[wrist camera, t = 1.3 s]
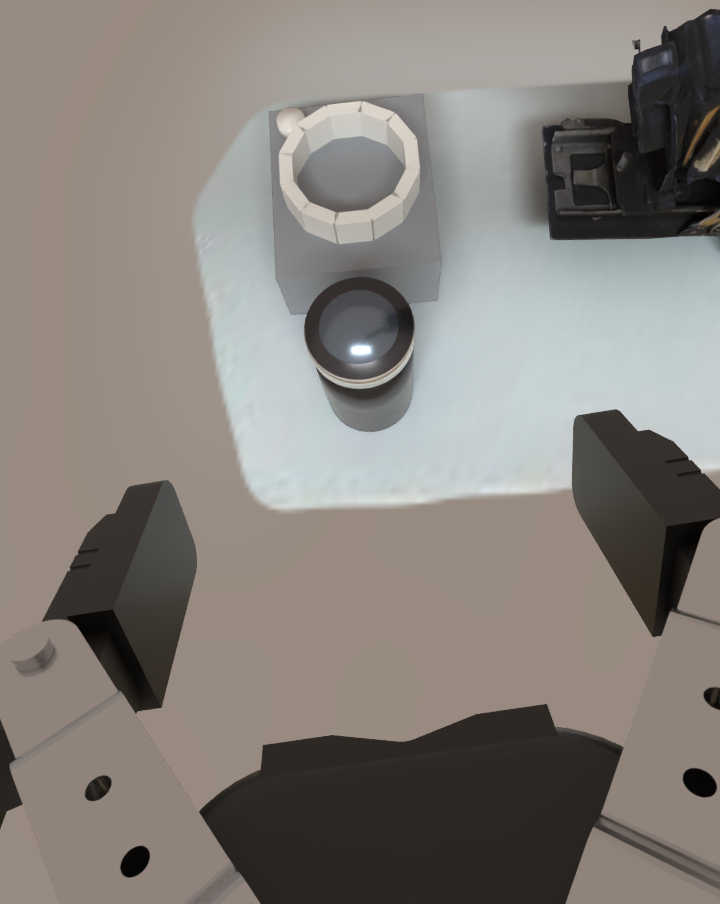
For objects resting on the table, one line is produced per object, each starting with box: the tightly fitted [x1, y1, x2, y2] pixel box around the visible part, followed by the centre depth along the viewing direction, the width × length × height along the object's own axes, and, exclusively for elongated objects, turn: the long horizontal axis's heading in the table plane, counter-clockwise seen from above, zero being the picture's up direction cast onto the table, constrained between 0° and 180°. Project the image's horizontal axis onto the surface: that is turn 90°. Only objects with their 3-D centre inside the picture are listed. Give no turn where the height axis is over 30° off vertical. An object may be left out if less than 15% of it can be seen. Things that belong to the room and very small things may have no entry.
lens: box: [304, 277, 415, 432], centre depth 36 cm, size 6×6×10 cm
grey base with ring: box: [269, 94, 441, 315], centre depth 41 cm, size 10×12×7 cm
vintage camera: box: [542, 9, 720, 240], centre depth 33 cm, size 10×15×20 cm, turn 90°
